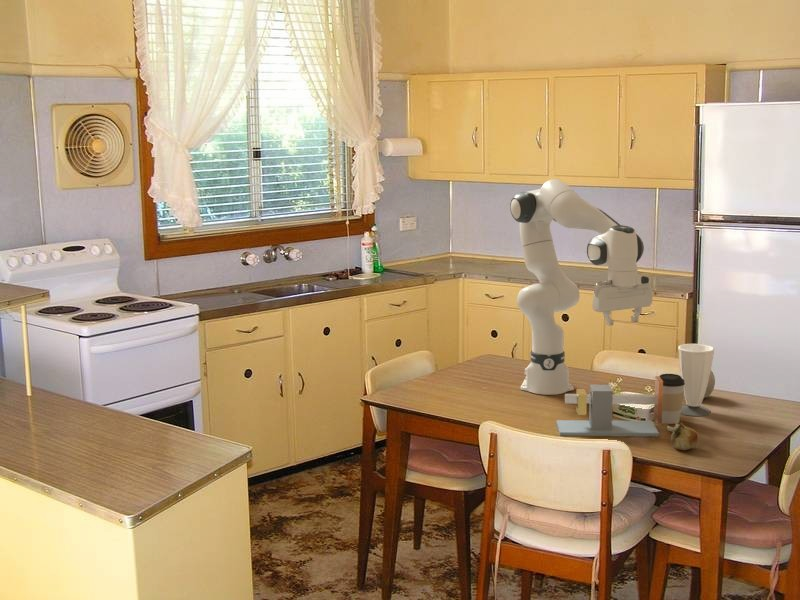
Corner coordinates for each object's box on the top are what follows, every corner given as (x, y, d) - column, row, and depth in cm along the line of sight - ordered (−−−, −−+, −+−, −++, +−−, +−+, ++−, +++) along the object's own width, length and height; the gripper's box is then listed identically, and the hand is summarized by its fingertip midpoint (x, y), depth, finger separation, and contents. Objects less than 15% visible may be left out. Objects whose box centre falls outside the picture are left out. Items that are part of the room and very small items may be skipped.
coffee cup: (648, 420, 314) (650, 375, 311) (663, 414, 320) (665, 369, 317) (673, 426, 308) (675, 380, 305) (688, 420, 314) (690, 374, 311)
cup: (687, 418, 316) (690, 353, 312) (668, 407, 327) (671, 345, 323) (718, 414, 319) (721, 350, 315) (698, 404, 330) (701, 342, 326)
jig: (556, 423, 312) (557, 382, 310) (651, 424, 310) (653, 382, 308) (559, 435, 301) (560, 393, 298) (659, 436, 299) (660, 393, 296)
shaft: (563, 417, 309) (564, 375, 306) (657, 417, 307) (659, 376, 304) (565, 423, 303) (566, 381, 300) (661, 423, 301) (663, 381, 298)
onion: (686, 455, 282) (687, 428, 281) (664, 448, 289) (665, 422, 287) (702, 450, 287) (704, 423, 285) (680, 442, 293) (681, 417, 291)
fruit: (682, 401, 333) (683, 359, 331) (682, 392, 344) (684, 351, 341) (714, 404, 330) (716, 361, 328) (714, 394, 341) (716, 353, 338)
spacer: (576, 409, 308) (576, 389, 307) (584, 409, 308) (584, 389, 307) (578, 414, 302) (578, 394, 301) (586, 414, 302) (586, 394, 301)
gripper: (600, 283, 292) (600, 328, 294) (655, 277, 300) (655, 321, 303) (588, 280, 298) (588, 325, 300) (642, 275, 306) (642, 318, 308)
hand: (622, 323), depth 301 cm, fingers open, 8 cm apart
